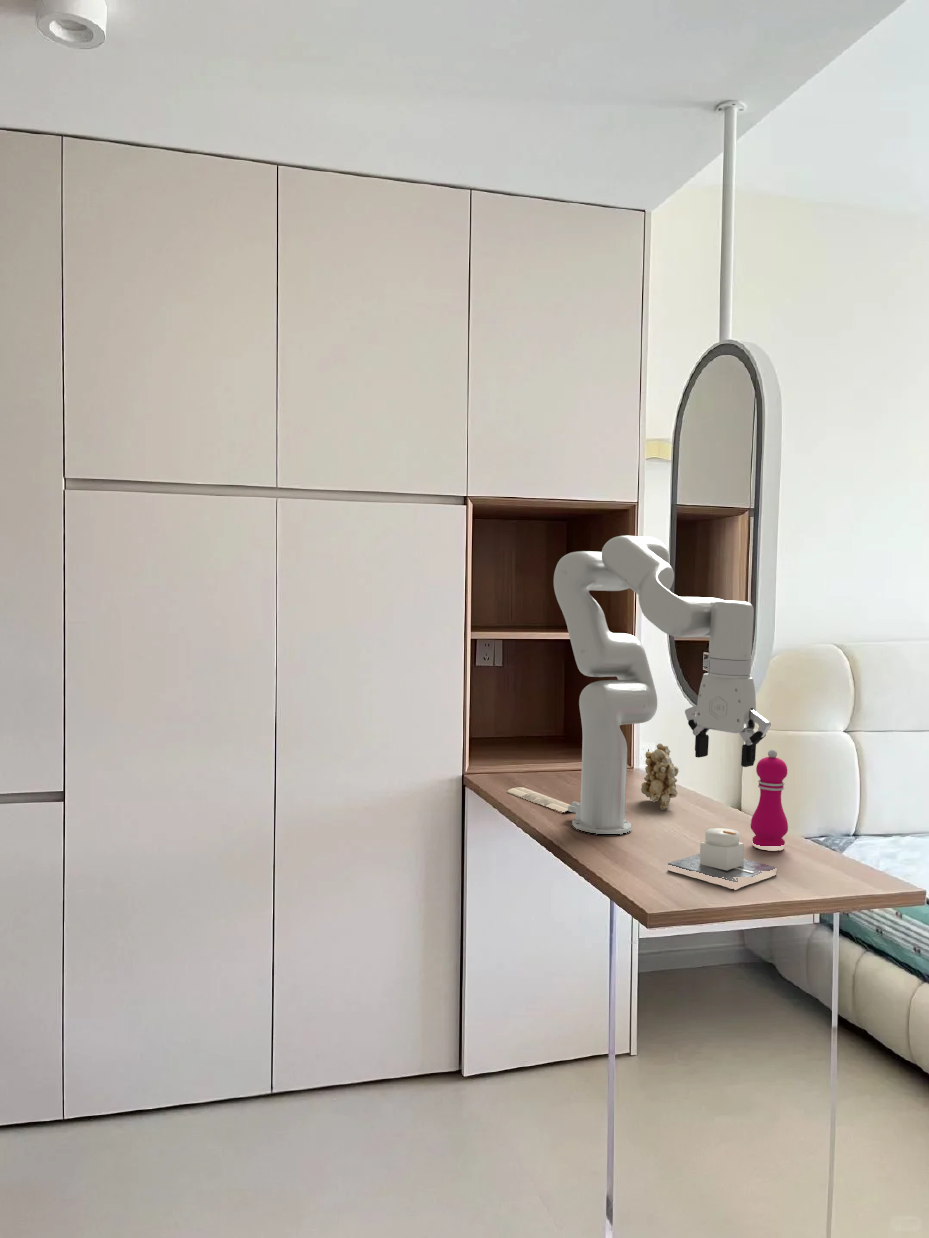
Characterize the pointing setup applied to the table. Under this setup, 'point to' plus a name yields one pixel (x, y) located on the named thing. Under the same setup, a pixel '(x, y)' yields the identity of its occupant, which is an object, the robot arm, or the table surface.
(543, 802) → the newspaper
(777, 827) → the pepper mill
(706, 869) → the grey thin square slab
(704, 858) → the knob
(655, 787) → the mineral formation
